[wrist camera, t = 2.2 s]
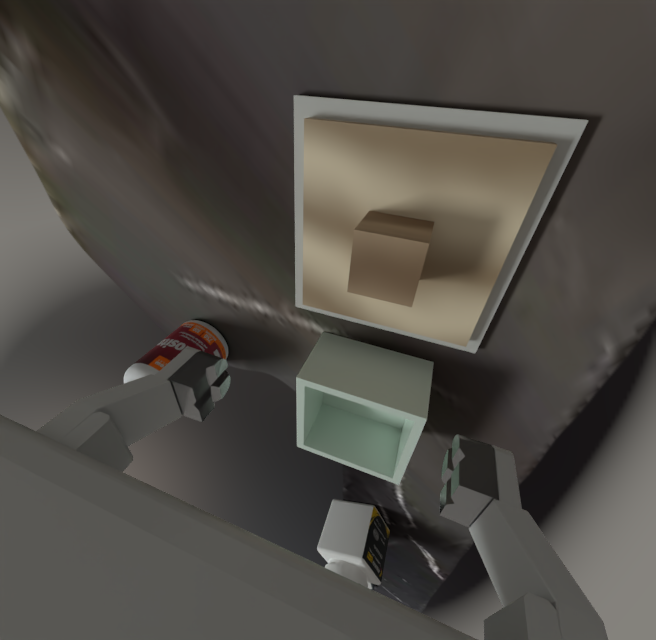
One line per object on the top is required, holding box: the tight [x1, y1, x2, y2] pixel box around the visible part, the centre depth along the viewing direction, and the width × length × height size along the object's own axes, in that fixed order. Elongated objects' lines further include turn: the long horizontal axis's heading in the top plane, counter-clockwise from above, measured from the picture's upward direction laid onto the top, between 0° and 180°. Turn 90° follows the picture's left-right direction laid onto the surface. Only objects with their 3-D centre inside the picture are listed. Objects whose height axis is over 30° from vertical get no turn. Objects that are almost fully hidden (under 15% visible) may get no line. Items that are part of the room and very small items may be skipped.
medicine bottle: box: [317, 499, 390, 588], centre depth 43 cm, size 7×7×12 cm
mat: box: [294, 95, 589, 353], centre depth 21 cm, size 15×15×1 cm
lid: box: [303, 117, 557, 347], centre depth 19 cm, size 13×13×4 cm
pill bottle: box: [124, 320, 228, 384], centre depth 31 cm, size 6×6×11 cm
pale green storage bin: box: [296, 332, 434, 485], centre depth 28 cm, size 10×10×6 cm
